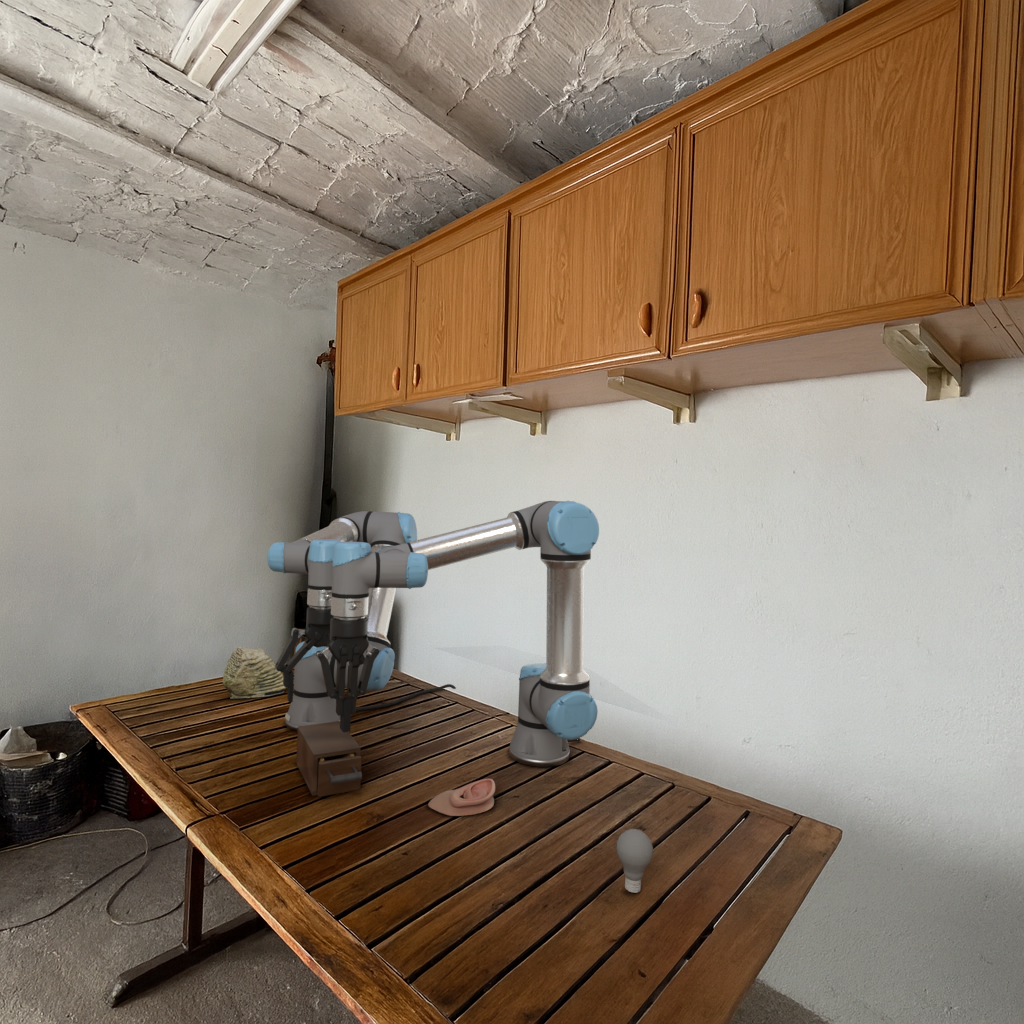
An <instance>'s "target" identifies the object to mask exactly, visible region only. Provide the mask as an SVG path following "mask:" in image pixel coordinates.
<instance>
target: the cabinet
mask: <svg viewBox="0 0 1024 1024" xmlns="http://www.w3.org/2000/svg"><path fill="white" fill-rule="evenodd" d="M296 732H297V734H296V735H297V736H296V761H295V762H296V763H295V764H296V766H297V768H298V770H299V772H300V773H301V776H302V779H303V780H304V782H305V784H306V785H307V788H308V790H309V792H310V794H311V796H312V797H315V796H318V795H317V789H318V785H317V770H318V758H323V757H329V756H336V755H342V754H348V753H353V754H354V756H361V750H362V749H361V746H360V745H359V743H358V742H357V741H356V740H355V738H354V737H353V736H352V734H351V733H350V732H342V730H341V729H340V721H336V722H329V723H321V724H314V725H306V726H298V731H296Z"/></svg>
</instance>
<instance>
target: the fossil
mask: <svg viewBox="0 0 1024 1024" xmlns="http://www.w3.org/2000/svg"><path fill="white" fill-rule="evenodd" d="M275 665H276V663H275V662H274V660H273V659H272V658H271V657H270V656H269V655H268V654H267V653H266V652H265V650H264V649H263V648H260V647H258V648H251V647H247V646H246V647H245V646H238V647H237V648H236V649H235V650H233V651H232V653H231V656H230V657H229V659H228V660H227V663H226V666H225V668H224V671H223V675H222V676H223V677H222V685H223V687H224V688H225V690H226V691H228V693H229V698H230V699H250V698H264V697H271V696H275V695H281V694H284V693H285V691H286V689H287V687H284V684H283V672H281V671H277V670H276V668H275Z"/></svg>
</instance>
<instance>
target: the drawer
mask: <svg viewBox="0 0 1024 1024" xmlns="http://www.w3.org/2000/svg"><path fill="white" fill-rule="evenodd" d="M362 780H363V772H362V756H361V755H360V756H354V754H353V753H348V754H342V755H336V756H329V757H323V758H318V770H317V785H318V789H317V795H316V796H317V797H318V798H321V797H327V796H332V795H338V794H342V793H343V794H344V793H347V792H354V791H358V790H361V782H362Z"/></svg>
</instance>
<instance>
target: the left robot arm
mask: <svg viewBox="0 0 1024 1024" xmlns="http://www.w3.org/2000/svg"><path fill="white" fill-rule="evenodd" d="M416 540H418V530H417V524H416V520H415V518H414V516H413V515H412V514H411V513H407V512H401V511H397V512H394V511H393V512H391V511H390V512H389V511H372V510H362V511H357V512H352V513H349V514H345V515H343V516H340V517H337V518H335V519H334V520H332V521H331V522H330V523H329V525H328V526H326V527H324V528H321V529H319V530H317V531H314V532H312V533H310V534H308V535H306V536H303V537H301V538H298V539H297V540H295V541H292V542H286V541H281V542H280V541H279V542H274V543H272V544H271V545H270V547H269V548H268V551H267V566H268V568H269V569H270V570H271V571H273V572H277V573H283V574H301V575H302V574H303V575H308V577H307V583H308V584H307V599H306V604H307V606H308V607H307V608H306V625H305V627H304V628H297V627H294V626H293V627H292V628H291V632H290V637H289V639H288V641H287V643H286V645H285V646H284V649H283V650H282V652H281V654H280V656H279V657H278V660H277V661H276V663H275V668H276V670H277V671H280V672H281V673H282V675H283V684H284V687H286V688H287V694H286V695H287V696H286V697H287V698H286V699H287V701H288V703H289V708H288V711H287V712H286V713H285V716H284V718H285V726H286V728H287V729H289V730H291V731H294V732H295V731H296V732H298V726H306V725H314V724H321V723H329V722H336V721H340V716H338V715H337V713H336V699H334V698H333V699H332V698H330V697H329V695H328V694H327V690H326V685H325V681H324V676H323V671H322V667H321V662H320V660H319V659H318V658H317V656H316V652H317V651H322V650H323V649H324V648H326V647H327V643H328V641H329V639H330V620H331V619H332V617H334V616H332V615H331V597H332V563H333V554H334V547H335V545H336V544H337V543H339V542H365V543H369V544H370V546H371V550H372V552H377V551H378V550H379V549H380V548H382V547H385V546H396V545H400V544H405V543H409V542H412V541H416ZM396 593H397V588H369V599H368V615H366V616H365V617H367V619H368V629H367V639H368V641H369V645H371V646H373V647H376V648H377V649H378V650H379V654H378V655H377V657H376V658H375V660H374V663H373V667H372V671H371V674H370V678H369V682H368V685H367V689H366V692H368V691H375V692H377V691H381V690H382V689H384V688H385V687H386V685H388V683H389V681H390V680H391V677H392V674H393V671H394V666H395V658H396V655H395V651H394V649H392V648H391V641H390V640H389V639H388V637H387V636H388V632H389V628H390V621H391V616H392V612H393V607H394V602H395V598H396V597H395V596H396ZM302 636H305V637H306V640H304V641H302V642H299V643H298V644H297V642H298V640H299V639H301V638H302ZM296 644H297V645H296ZM295 646H296V647H295ZM294 648H295V652H294V654H293V655H292V656H291V658H290V659H289V657H290V655H291V654H292V652H293V650H294ZM365 657H366V651H365V652H364V653H363V655H362V656H361V658H360V659H359V666H358V682H357V686H358V683H359V679H360V675H361V672H362V668H363V664H364V661H365ZM288 659H289V660H288ZM328 662H329V665H330V670H331V675H332V679H333V684H334V689H335V691H336V676H337V663H336V662H337V660H336V659H335V658H334V656H333V655H332V653H331V652H330V653H329V659H328ZM293 669H294V672H293ZM348 685H349V662H347V665H346V673H345V690H346V694H348ZM447 688H451V689H452V690H456V689H457V687H456V686H455V685H454V684H450V683H447V684H444V685H441V686H438V687H433V688H428V689H424V690H420V691H417V692H414V693H411V694H408V695H407V696H404V697H401V698H399V699H396V700H393V701H390V702H385V703H382V704H375V705H367V706H356V712H357V711H369V710H375V709H382V708H386V707H390V706H393V705H397V704H400V703H402V702H405V701H406V700H410V699H412V698H414V697H417V696H419V695H423V694H427V693H432V692H436V691H442V690H444V689H447Z"/></svg>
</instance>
